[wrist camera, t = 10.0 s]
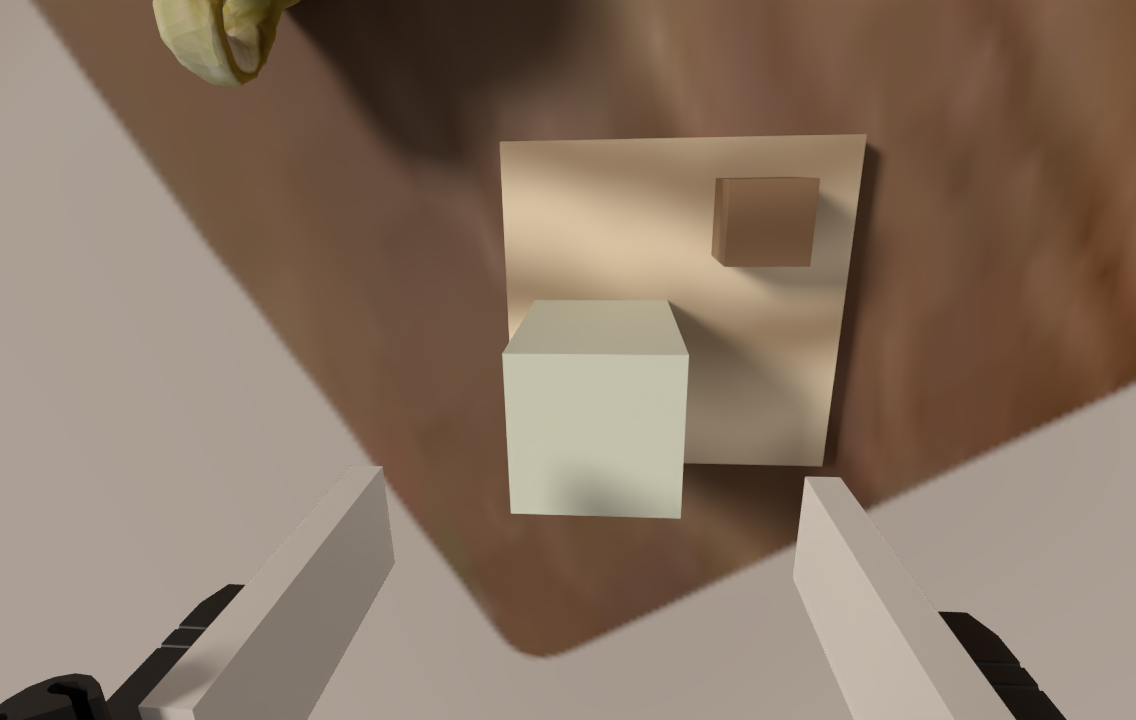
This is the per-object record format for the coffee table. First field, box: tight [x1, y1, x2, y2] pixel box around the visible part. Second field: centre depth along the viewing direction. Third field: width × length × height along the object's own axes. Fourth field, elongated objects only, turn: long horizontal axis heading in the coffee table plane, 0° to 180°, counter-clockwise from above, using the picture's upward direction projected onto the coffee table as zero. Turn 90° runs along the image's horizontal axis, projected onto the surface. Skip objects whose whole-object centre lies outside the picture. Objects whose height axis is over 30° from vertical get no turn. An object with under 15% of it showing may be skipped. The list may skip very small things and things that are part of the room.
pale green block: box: [502, 300, 689, 518], centre depth 22 cm, size 6×6×8 cm
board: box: [500, 134, 867, 466], centre depth 24 cm, size 14×14×4 cm
